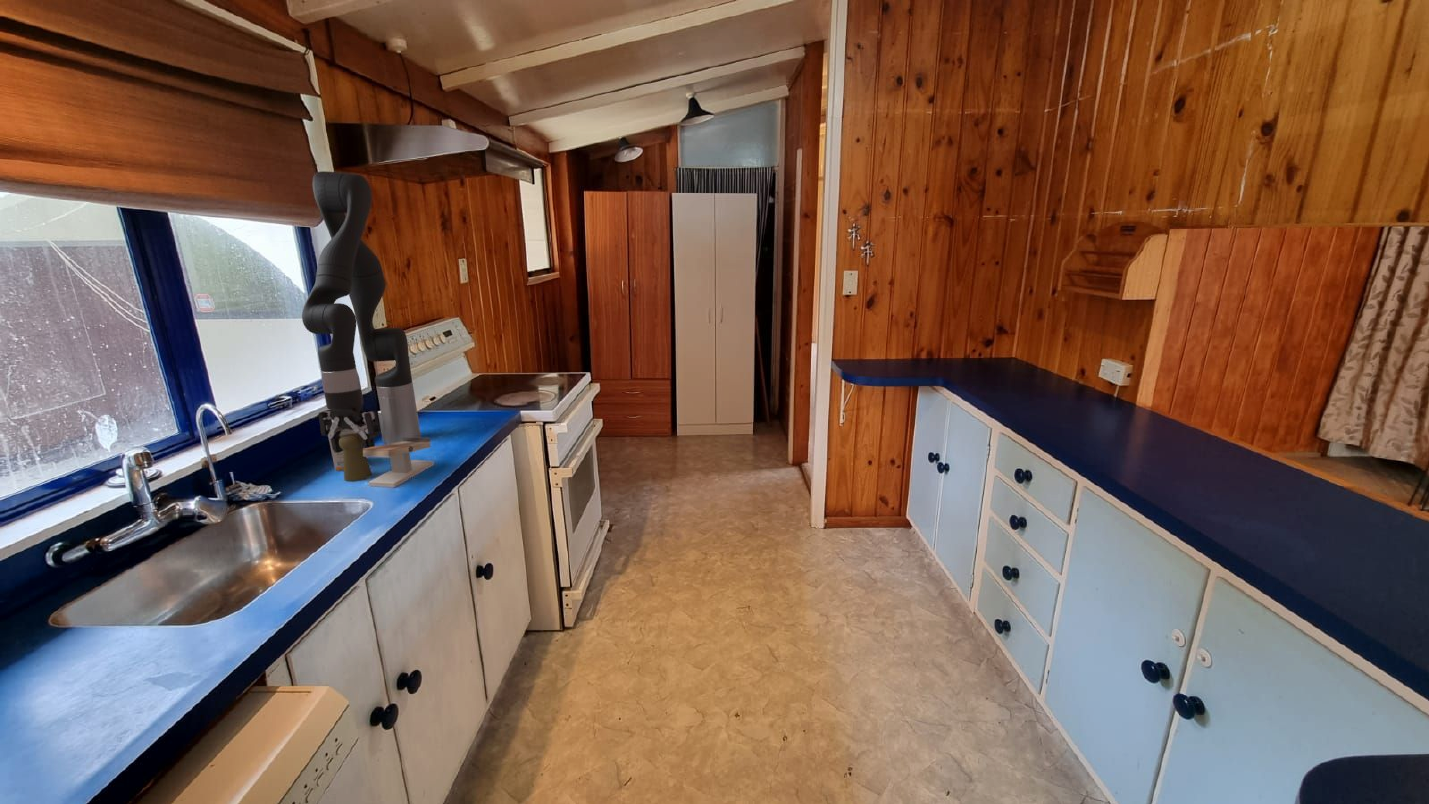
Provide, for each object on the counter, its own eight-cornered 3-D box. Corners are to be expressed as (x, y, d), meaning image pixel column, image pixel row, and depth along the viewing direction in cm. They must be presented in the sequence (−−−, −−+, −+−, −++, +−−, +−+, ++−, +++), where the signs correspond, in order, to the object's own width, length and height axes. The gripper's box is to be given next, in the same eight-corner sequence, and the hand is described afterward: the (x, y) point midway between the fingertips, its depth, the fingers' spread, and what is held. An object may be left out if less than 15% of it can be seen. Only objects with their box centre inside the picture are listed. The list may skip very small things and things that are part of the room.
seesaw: (363, 456, 134) (362, 445, 133) (407, 446, 148) (406, 436, 148) (388, 457, 133) (388, 447, 132) (430, 447, 147) (430, 437, 147)
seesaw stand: (368, 486, 136) (364, 462, 134) (410, 463, 150) (407, 442, 148) (394, 487, 135) (390, 464, 133) (434, 464, 149) (430, 443, 147)
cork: (359, 482, 138) (350, 439, 135) (338, 480, 139) (329, 438, 136) (378, 472, 144) (370, 431, 141) (357, 471, 145) (349, 430, 142)
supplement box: (341, 461, 152) (331, 414, 149) (361, 458, 154) (353, 412, 151) (334, 471, 145) (324, 422, 142) (356, 468, 147) (346, 420, 143)
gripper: (380, 384, 138) (391, 448, 142) (328, 384, 140) (340, 446, 144) (357, 392, 131) (369, 458, 135) (303, 391, 133) (316, 456, 137)
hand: (354, 452), depth 139 cm, fingers open, 8 cm apart
